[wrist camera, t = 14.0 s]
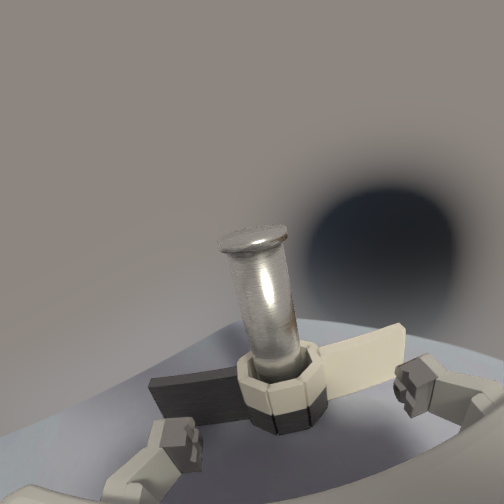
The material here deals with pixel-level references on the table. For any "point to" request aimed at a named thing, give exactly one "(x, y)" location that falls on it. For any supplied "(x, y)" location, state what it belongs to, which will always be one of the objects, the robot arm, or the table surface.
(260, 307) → the hinge pin
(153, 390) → the hinge leaf
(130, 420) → the table surface
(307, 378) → the hinge leaf
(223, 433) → the table surface
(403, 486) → the robot arm
